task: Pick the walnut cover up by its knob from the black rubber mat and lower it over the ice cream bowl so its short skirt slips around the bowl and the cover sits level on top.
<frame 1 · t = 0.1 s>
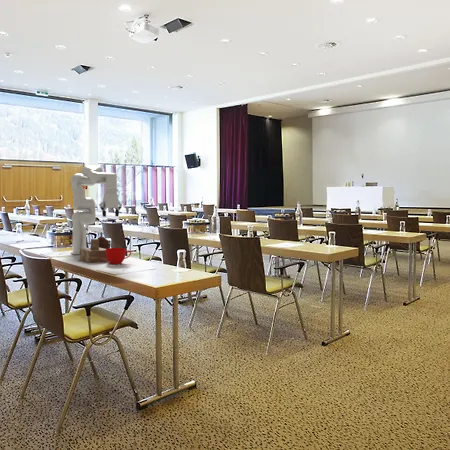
hand: (110, 216, 319), 31 cm above the table, tool pointing down, fingers open, 9 cm apart
lid: (94, 260, 321), resting on mat
mat: (94, 261, 321), on the table
ceramic cup: (118, 264, 312), on the table
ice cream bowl: (102, 257, 340), on the table
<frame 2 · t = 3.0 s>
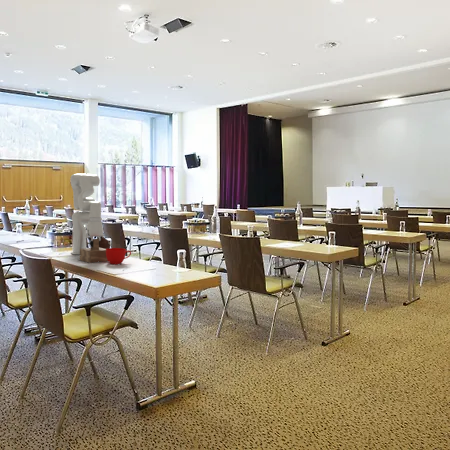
hand: (94, 246, 320), 10 cm above the table, tool pointing down, fingers closed on lid, 4 cm apart
lid: (94, 260, 321), resting on mat, touching gripper
everything else where it was.
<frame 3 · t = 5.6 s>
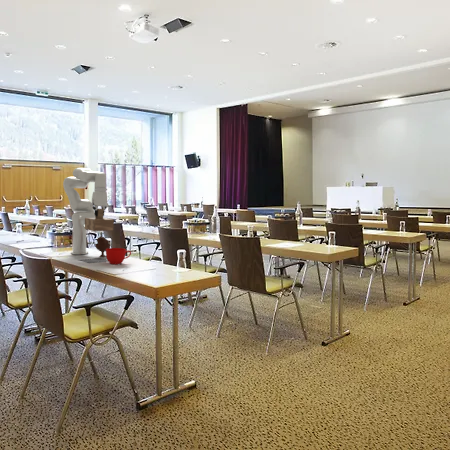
hand: (99, 215, 329), 31 cm above the table, tool pointing down, fingers closed on lid, 4 cm apart
lid: (99, 229, 330), point 21 cm above the table, touching gripper
everything else where it was.
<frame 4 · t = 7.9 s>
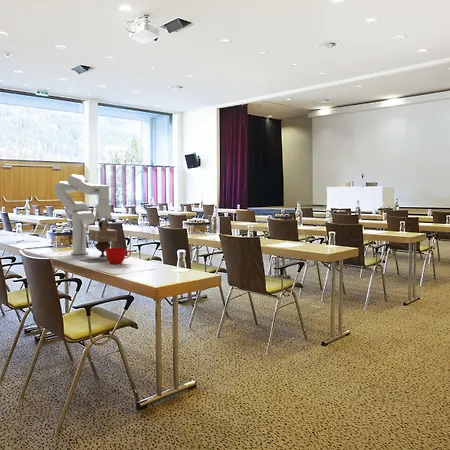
hand: (103, 227, 339), 22 cm above the table, tool pointing down, fingers closed on lid, 4 cm apart
lid: (103, 240, 339), point 12 cm above the table, touching gripper
everything else where it was.
when the fingers open (20 cm above the table, at t = 8.7 s): lid drops 2 cm, resting on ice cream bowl.
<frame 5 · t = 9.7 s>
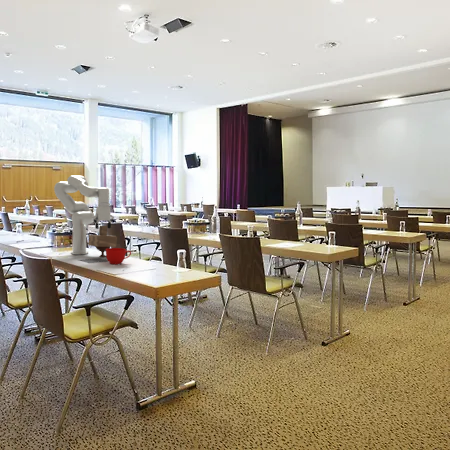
hand: (103, 228, 339), 21 cm above the table, tool pointing down, fingers open, 9 cm apart
lid: (102, 246, 339), point 8 cm above the table, tilted 5°, touching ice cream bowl
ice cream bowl: (102, 257, 340), on the table, touching lid
everything else where it was.
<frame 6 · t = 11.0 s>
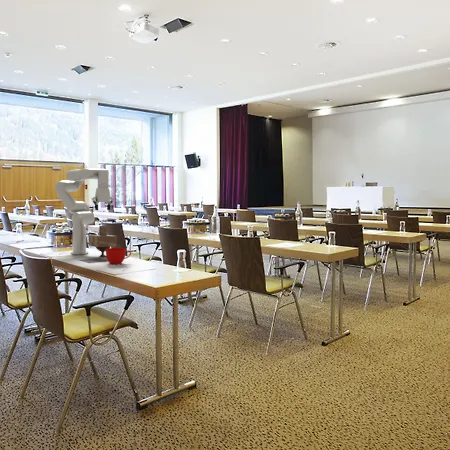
hand: (102, 210, 338), 34 cm above the table, tool pointing down, fingers open, 9 cm apart
nothing on the table moved.
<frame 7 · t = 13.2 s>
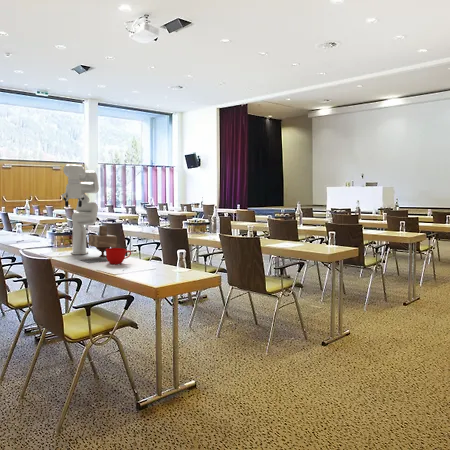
hand: (73, 206, 328), 36 cm above the table, tool pointing down, fingers open, 9 cm apart
nothing on the table moved.
at the end: lid 0.1 cm off-centre in the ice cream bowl, point 8.2 cm above the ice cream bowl's base; lid tilted 1°; the gripper is holding nothing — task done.
